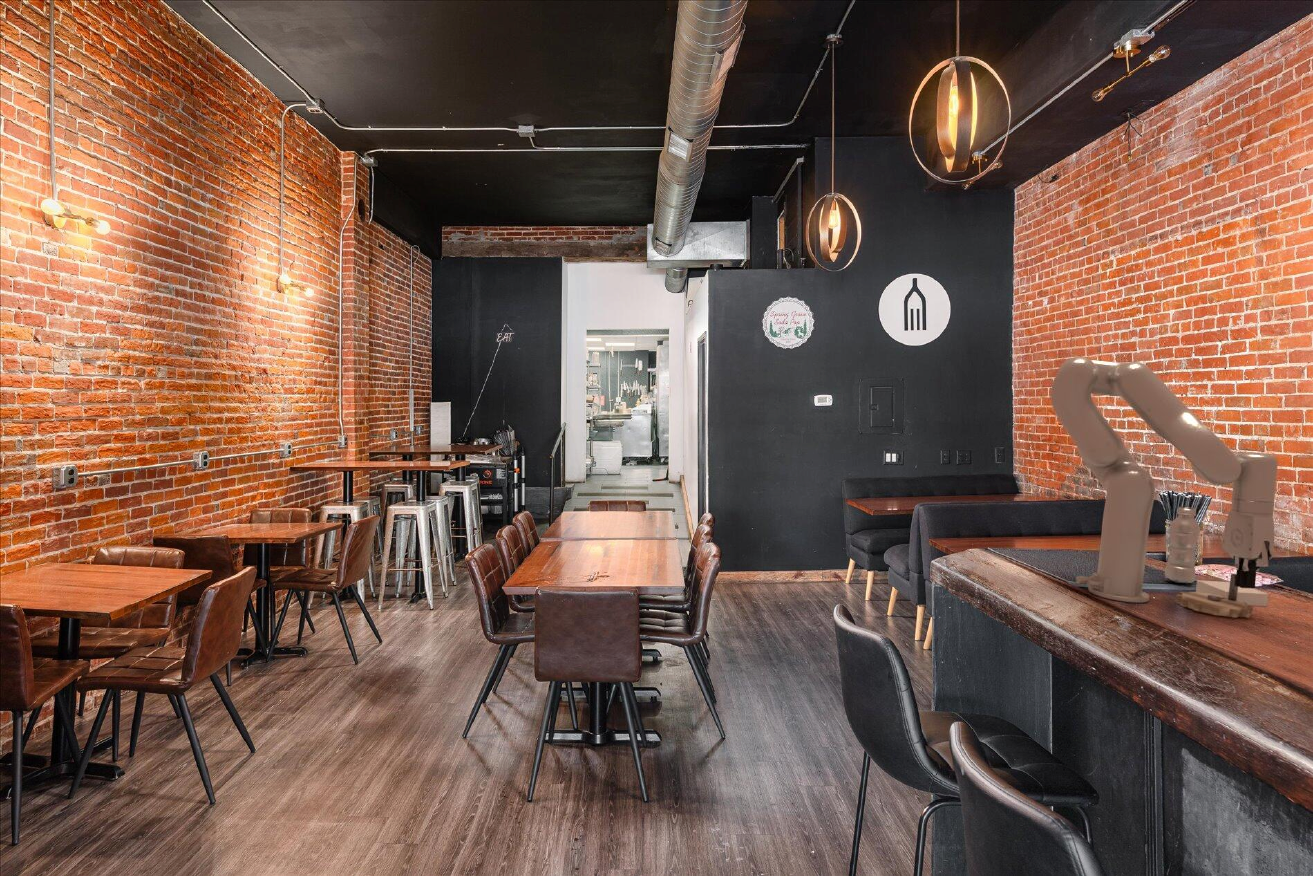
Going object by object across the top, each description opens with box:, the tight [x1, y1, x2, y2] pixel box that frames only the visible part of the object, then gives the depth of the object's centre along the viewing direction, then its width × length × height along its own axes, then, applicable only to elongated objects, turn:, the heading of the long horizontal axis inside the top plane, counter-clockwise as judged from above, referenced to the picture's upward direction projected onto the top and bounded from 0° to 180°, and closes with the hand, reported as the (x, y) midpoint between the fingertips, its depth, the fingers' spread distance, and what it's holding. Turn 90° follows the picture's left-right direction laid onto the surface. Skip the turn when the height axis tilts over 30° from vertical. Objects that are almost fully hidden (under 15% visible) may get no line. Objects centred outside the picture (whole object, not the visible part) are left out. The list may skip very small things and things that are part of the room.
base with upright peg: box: [1175, 573, 1254, 618], centre depth 174 cm, size 14×14×8 cm
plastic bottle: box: [1164, 506, 1201, 583], centre depth 197 cm, size 6×7×20 cm
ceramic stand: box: [1195, 579, 1270, 607], centre depth 185 cm, size 10×10×3 cm
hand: (1245, 587), depth 172 cm, fingers closed
